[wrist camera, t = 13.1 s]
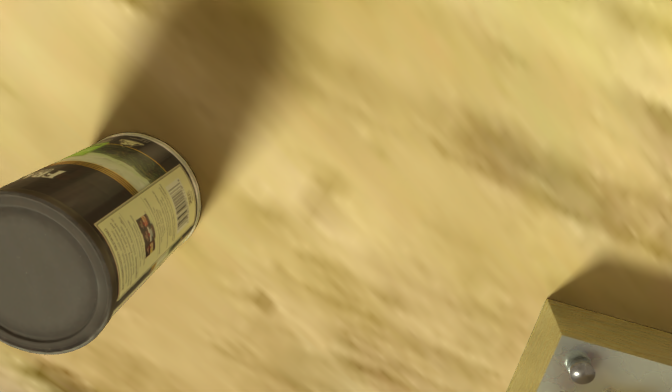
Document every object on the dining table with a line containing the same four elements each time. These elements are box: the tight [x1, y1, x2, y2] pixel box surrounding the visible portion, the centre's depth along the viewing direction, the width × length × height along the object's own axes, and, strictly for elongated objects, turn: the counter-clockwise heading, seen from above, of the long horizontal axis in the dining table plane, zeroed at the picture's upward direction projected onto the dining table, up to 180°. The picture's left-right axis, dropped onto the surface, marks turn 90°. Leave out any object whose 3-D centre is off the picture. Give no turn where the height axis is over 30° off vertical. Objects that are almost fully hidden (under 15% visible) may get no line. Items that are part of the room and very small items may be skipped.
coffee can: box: [0, 133, 201, 354], centre depth 39 cm, size 10×10×14 cm
